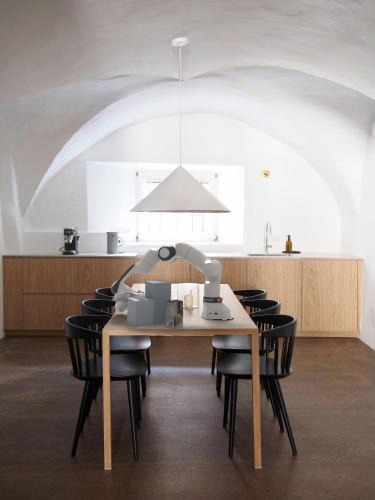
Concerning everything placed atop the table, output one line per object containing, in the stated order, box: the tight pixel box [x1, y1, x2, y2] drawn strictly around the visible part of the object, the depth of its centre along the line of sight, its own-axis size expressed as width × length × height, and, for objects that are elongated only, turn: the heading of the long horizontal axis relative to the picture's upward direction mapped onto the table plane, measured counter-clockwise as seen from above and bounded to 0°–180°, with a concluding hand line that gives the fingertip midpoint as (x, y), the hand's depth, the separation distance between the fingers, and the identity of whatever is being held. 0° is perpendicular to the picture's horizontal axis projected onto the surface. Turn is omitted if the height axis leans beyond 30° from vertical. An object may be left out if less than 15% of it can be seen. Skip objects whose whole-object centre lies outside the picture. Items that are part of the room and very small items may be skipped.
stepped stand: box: [126, 279, 172, 327], centre depth 310 cm, size 14×24×26 cm, turn 118°
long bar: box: [129, 292, 145, 300], centre depth 312 cm, size 20×4×4 cm, turn 28°
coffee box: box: [165, 299, 184, 329], centre depth 299 cm, size 9×6×16 cm
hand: (133, 291), depth 318 cm, fingers open, 8 cm apart
